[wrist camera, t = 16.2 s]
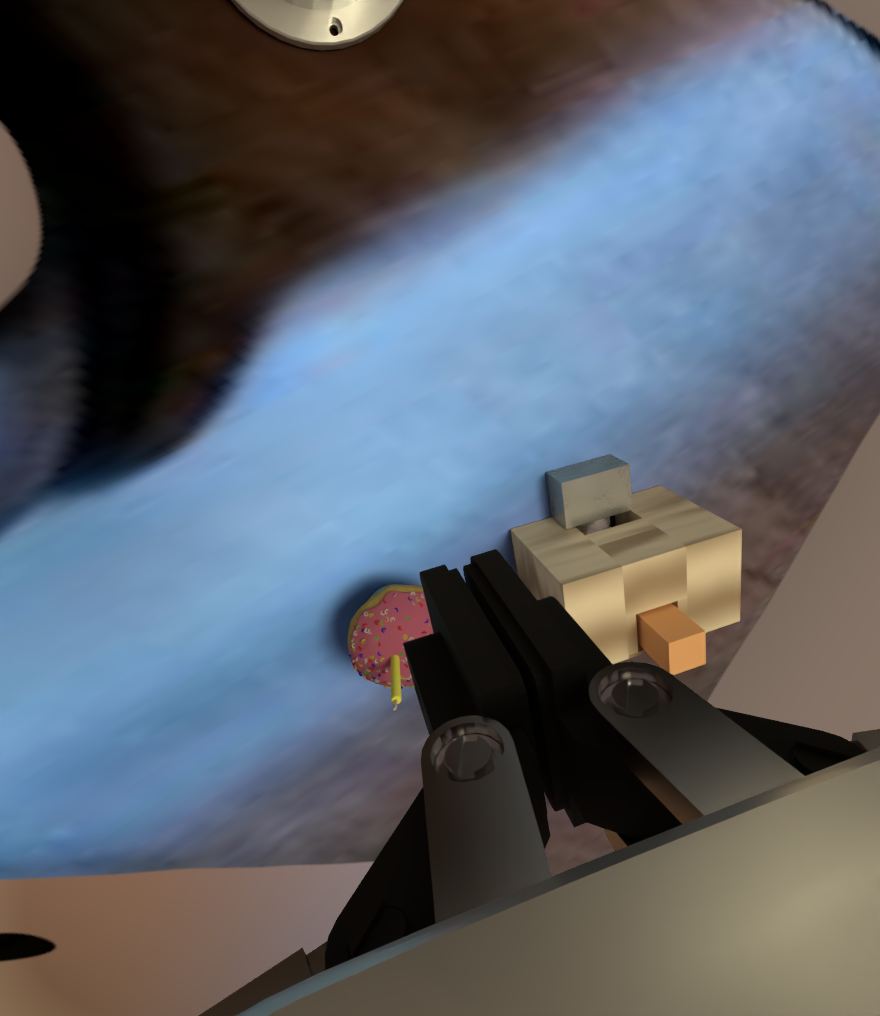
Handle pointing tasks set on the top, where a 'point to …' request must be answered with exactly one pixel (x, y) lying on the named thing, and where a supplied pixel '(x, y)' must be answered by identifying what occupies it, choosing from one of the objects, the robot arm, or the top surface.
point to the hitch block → (636, 568)
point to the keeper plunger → (671, 638)
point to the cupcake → (388, 635)
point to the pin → (589, 493)
